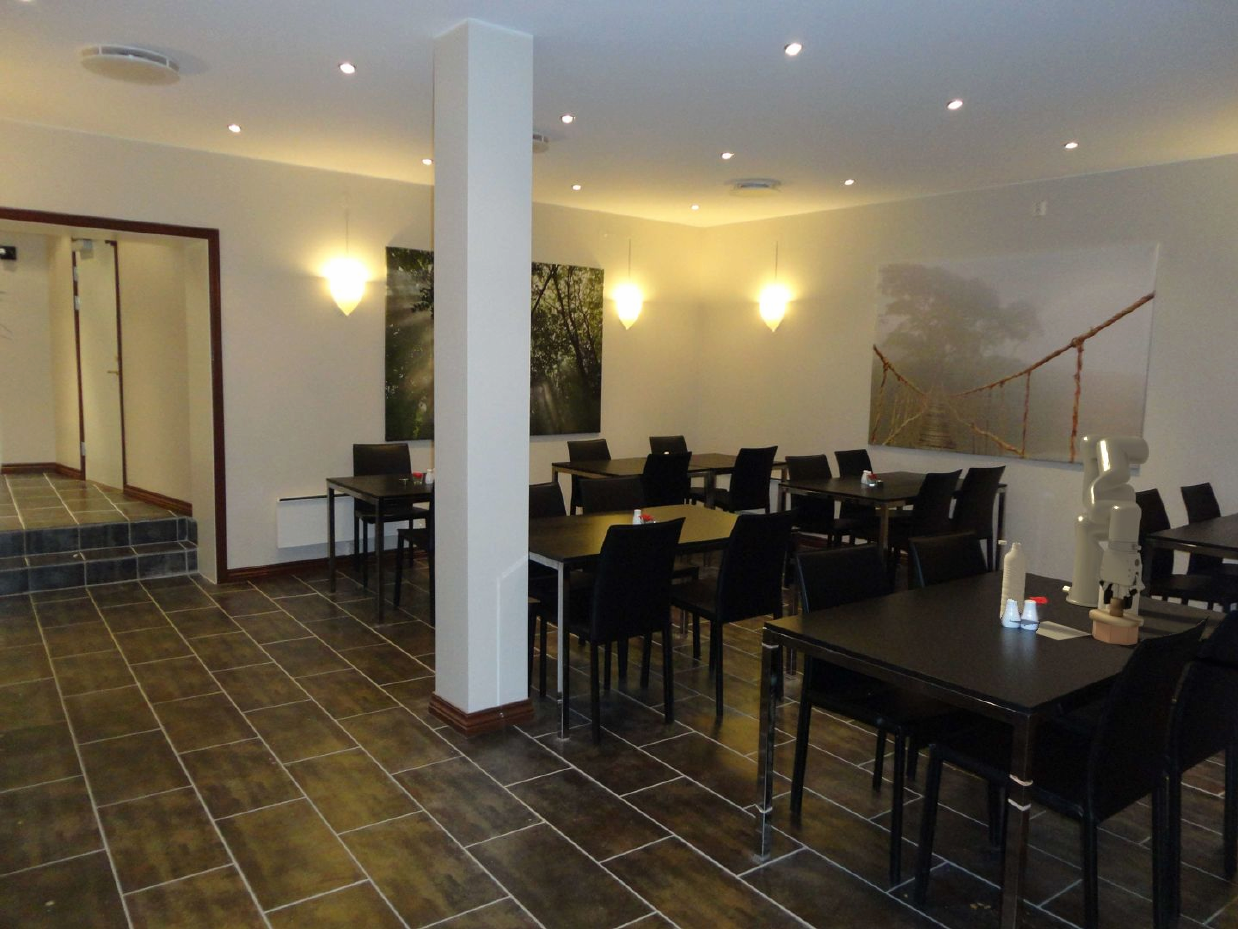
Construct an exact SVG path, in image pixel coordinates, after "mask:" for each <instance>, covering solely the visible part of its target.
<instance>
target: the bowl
mask: <svg viewBox="0 0 1238 929" xmlns="http://www.w3.org/2000/svg"><path fill="white" fill-rule="evenodd" d="M1092 621H1093V623H1092V633H1091V634H1092V636H1093V638H1094V640H1098V641H1101V642H1104V643H1107V644H1112V645H1113V644H1114V645H1123V646H1130V645H1135V644H1138V635H1139V627H1120V626H1113V625H1107V624H1103V623H1100V622H1096V621H1094V620H1092Z"/></svg>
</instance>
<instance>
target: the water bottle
mask: <svg viewBox="0 0 1238 929" xmlns="http://www.w3.org/2000/svg"><path fill="white" fill-rule="evenodd" d="M998 545H1002V546H1003V545H1004V546H1005V545H1008V541H1007V540H998ZM1021 545H1022V544H1021V543H1020V542H1013V543H1012V545H1011V548H1010V549H1009V550H1008V552H1007V553H1006V554H1005V556H1004V561H1003V575H1002V577H1003V578H1002V588H1001V600H1000V603H1001V605H1000V613H999V618H1000V619H1001V617H1002V615H1003V613H1004V611H1005V608H1006V601H1007V600H1008V599H1012V600H1014V601H1017V603H1018V608H1019V612H1020V613H1022V614H1023V612H1024V601H1025V587H1026V574H1027V572H1026V571H1027V564H1028V563H1027V562H1028V561H1027V560H1028V559H1027V557H1026V554H1025V553H1024V551H1023V549H1022V546H1021Z"/></svg>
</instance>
